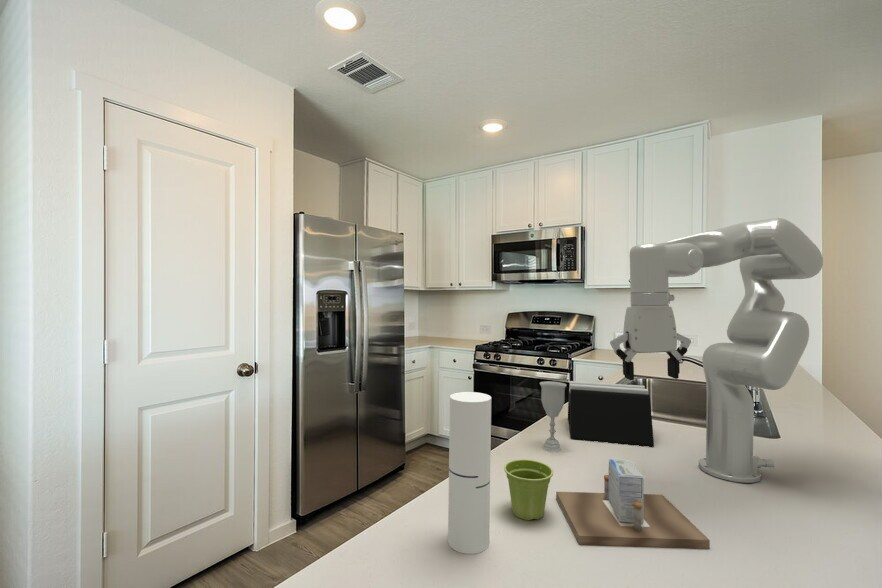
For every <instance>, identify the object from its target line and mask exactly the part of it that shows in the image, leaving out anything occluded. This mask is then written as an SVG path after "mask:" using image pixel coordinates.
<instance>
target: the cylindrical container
mask: <svg viewBox="0 0 882 588" xmlns="http://www.w3.org/2000/svg"><path fill="white" fill-rule="evenodd" d="M491 435H492V396H491V395H489V394H487V393H483V392H476V391H461V392H455V393H452V394H450V395H449V437H448V438H449V441H448V442H449V443H448V445H449V448H448V449H449V451H448V504H447V505H448V507H447V508H448V510H447V511H448V513H447V514H448V516H447V517H448V519H447V520H448V521H447V542H448V545H449V547H450V548H451V549H453V550H454V551H456V552H458V553H460V554H461V553H462V554H465V555H472V554H473V555H475V554H479V553H482V552H484V551H485V550H487V549H488V548H489V545H490V522H491V521H490V516H491V515H490V512H491V511H490V509H491V508H490V506H491V505H490V504H491V503H490V502H491V501H490V500H491V450H492V449H491V447H492V443H491V441H492V437H491Z"/></svg>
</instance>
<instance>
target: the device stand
mask: <svg viewBox="0 0 882 588" xmlns="http://www.w3.org/2000/svg"><path fill="white" fill-rule="evenodd" d="M567 422H568V423H567V424H568V430H569V437H570V440H575V441H584V440H585V441H584V442H586V441H587V442H594V441H598V442H597V443H604V442H608V443H607V444H614V443H618V444H617V445H624V444H628V445H627V446H634V445H639V446H638V447H644V446H649V447H648V448H654V447H655V443H654V442H655V441H654V429H653V427H654V426H653V415H652V402H651V396H650V394H649V389H648V388H645V385H637V384H636V385H635V384H622V383H621V384H620V383H607V382H605V383H604V382H593V381H592V382H591V381H578V380H577V381H575V380H569V384H568V402H567Z"/></svg>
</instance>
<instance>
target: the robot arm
mask: <svg viewBox="0 0 882 588" xmlns="http://www.w3.org/2000/svg"><path fill="white" fill-rule="evenodd" d="M737 260H739V271H740V275H741V278H742V282H743V287H744V296H743V299H742V300H741V303H740V304H739V305H738V308H737V309H736V311H735V312H734V313H733V316H732V317H731V320H730V321H729V324H728V326H727V329H726V335H727V338H728V340H729V341H730V342H716V343H712V344H710V345H709V346H707V348H706V349H705V350H704V352H703V354H702V358H701V359H702V368H703V373H704V377H705V384H706V385H705V387H706V423H705V424H706V425H705V427H706V429H705V430H706V431H705V433H706V434H705V435H706V437H705V457H703V458H700V459H699V460H698V467H699V469H700V470H701V471H703V472H704V473H706V474H708V475H711V476H713V477H716V478H718V479H722V480H726V481H728V482H729V481H730V482H734V483H735V482H736V483H744V484H746V483H748V484H749V483H750V484H751V483H757V482H759V481H761V479H762V474H761V472H760V471H759V469H761V468H774V467H775V462H774V460H773V459H770V458H761V457H760V456H758V455H757V456H756V455H754V424H755V423H754V422H755V421H754V420H755V419H754V418H755V417H754V415H755V413H754V412H755V406H754V405H755V404H754V400H753V397H752V394H751V392H750V391H749V389H748V388H747V387H752V388H757V389H762V390H769V391H776V390H781V389H782V388H784V387H785V386H786V385H787V384H788V383H789V380H790V379H791V377H792V376H793V373H794V372H795V370H796V368H797V365H798V364H799V362H800V360H801V358H802V356H803V355H804V352H805V350H806V348H807V345H808V342H809V339H810V327H809V323H808V321H807V320H806V319H805V317H804V316H803V315H801V314H799V313H797V312H793V311H784V307H785V304H786V303H785V302H786V300H785V298H784V296H783V294H782V292H781V291H780V290H779V289H778V288H777V287H776V286H775V285H774V283H773V281H772V280H776V281H777V280H803V279H805V280H806V279H811V278H813V277H815V276H817V275H818V274H819V273H821V270H822V269H823V266H824V258H823V254H822V252H821V250H820V248H819V247H818V246H817V245H816V244H815V243H814V242H813V241H812V240H811V239H810V237H808V236H807V234H805V233H804V232H803V230H802V229H801V228H799V227H798V226H797V225H796V224H794V223H793V222H791V221H790V220H787V219H785V218H782V217H780V218H779V217H776V218H767V219H761V220H754V221H747V222H741V223H737V224H732V225H728V226H725V227H723V228H722V227H720V228H717V229H713V230H709V231H706V232H700V233H696V234H692V235H689V236H686V237H681V238H677V239H673V240H669V241H664V242H663V241H662V242H659V243H645V244H638V245H637V244H636V245H633V246H632V247H631V248H630V249H629V281H630V283H629V287H630V288H629V289H630V291H629V292H630V294H629V295H630V306H626V310H625V315H624V323H623V331H622V332H623V334H621V335H619V336H617V337H616V338H614V339H612V340H610V342H609V345H610V346H611V348H612V350H613V351H614V353H615V355H617V357H618V358H619V359H620V360H622V374H623V376H624V378H626V379H627V380H629V381H633V380H635V374H634V373H635V367H634V362H633V361H632V359H634V357H635V356H636V354H654V353H656V354H658V353H666V354H667V355H668V358H667V360H666V361H667V364H666V366H667V376H668V377H670V378H672V379H675V380H678V379H680V378H679V374H680V368H681V367H680V361H682V359H683V357H684V355H686V353H687V352H688V349H689V347H690V345H691V343H692V340H691V339H690V338H688V337H686V336H684V335H682V334H680V333H678V332H677V325H676V320H675V319H676V318H675V315H674V310H673V307H672V306H671V305H670V302H674V301H675V294H670V291H669V288H670V286H669V278H680V277H681V278H683V277H690V276H692V275H695V274H696V273H699V271H700V270H701V269H704V268H712V267H719V266H721V265H725V264H729V263H732V262H734V261H737ZM678 342H680V344H679V346H678ZM621 344H623V345H622V347H623V348H624V349H625V350H622V348H621V347H620V345H621Z"/></svg>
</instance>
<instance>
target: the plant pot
mask: <svg viewBox="0 0 882 588" xmlns="http://www.w3.org/2000/svg"><path fill="white" fill-rule="evenodd" d="M503 470H504V472H505V474H506V479H507V480H508V487H509V497H510V503H511V504H510V505H511V511H512V512H513V514H514V515H515V516H516V517H517V518H519V519H522V520H525V521H531V520H533V519H534V520H540V519H541V518H543V517H544V515H545V509H546V503H547V502H546V501H547V495H548V489H549V484H550V482H551V478H552V477H553V475H554V470H553V469H552V466H550V465H548V464H546V463H544V462H542V461H538V460H533V459H526V458H525V459H523V458H522V459H514V460H511V461H508V462H506V463H505V464H504V466H503Z"/></svg>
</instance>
